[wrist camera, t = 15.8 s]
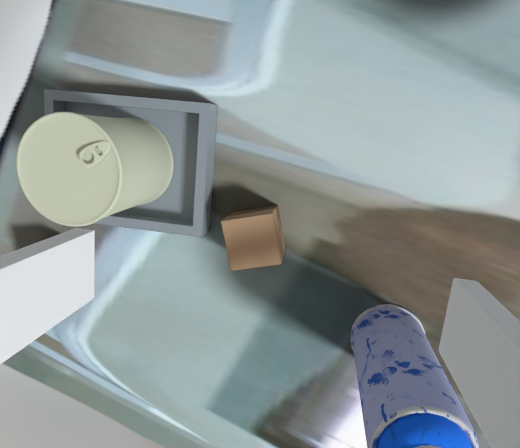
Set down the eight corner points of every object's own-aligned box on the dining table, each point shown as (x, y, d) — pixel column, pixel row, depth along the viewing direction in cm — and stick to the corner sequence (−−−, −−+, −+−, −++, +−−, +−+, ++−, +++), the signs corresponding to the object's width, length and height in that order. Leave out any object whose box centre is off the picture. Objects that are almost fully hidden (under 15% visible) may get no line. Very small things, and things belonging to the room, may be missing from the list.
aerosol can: (375, 382, 46) (413, 562, 27) (335, 326, 45) (345, 469, 26) (439, 349, 44) (530, 516, 25) (399, 290, 43) (460, 414, 24)
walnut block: (232, 212, 44) (220, 221, 40) (277, 204, 44) (272, 213, 39) (240, 256, 45) (231, 270, 41) (285, 250, 44) (281, 264, 40)
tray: (63, 212, 47) (46, 217, 44) (62, 91, 44) (43, 88, 41) (209, 230, 45) (201, 237, 42) (217, 105, 42) (210, 103, 39)
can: (190, 177, 43) (141, 193, 32) (122, 219, 46) (53, 248, 34) (143, 100, 42) (75, 86, 31) (76, 146, 45) (-11, 150, 33)
